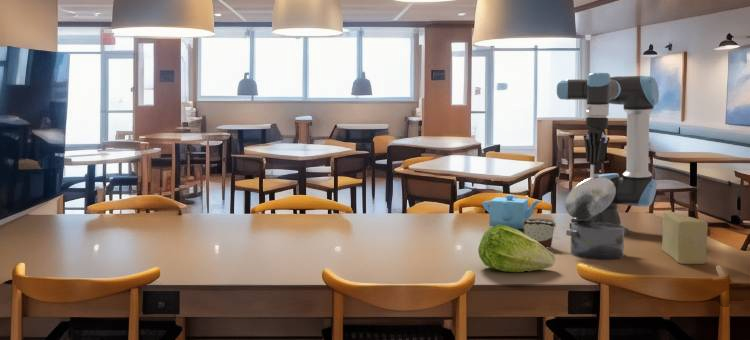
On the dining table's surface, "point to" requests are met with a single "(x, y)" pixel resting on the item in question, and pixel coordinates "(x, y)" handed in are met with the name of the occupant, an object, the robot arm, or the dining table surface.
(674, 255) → the cheese
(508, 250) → the lettuce
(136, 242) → the dining table surface
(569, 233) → the stockpot
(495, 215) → the teakettle
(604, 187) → the lid
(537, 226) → the food container
